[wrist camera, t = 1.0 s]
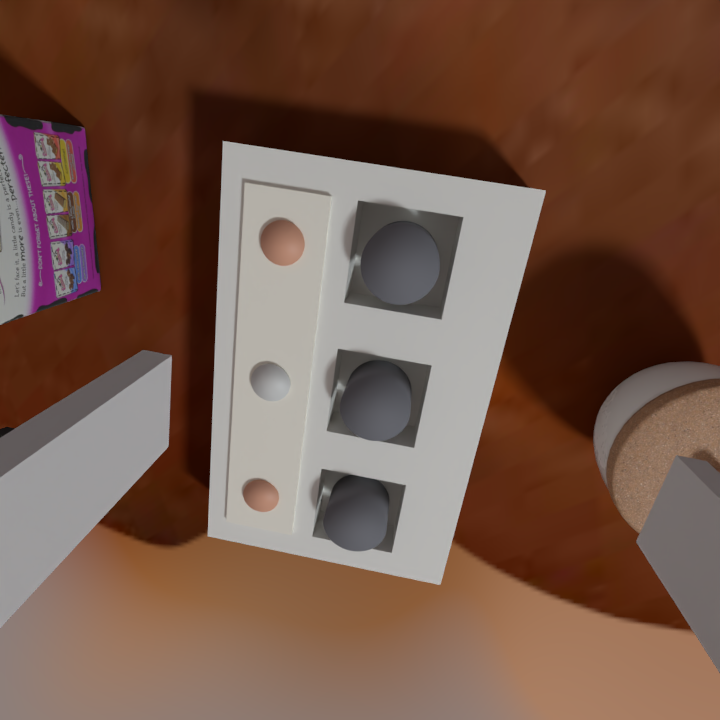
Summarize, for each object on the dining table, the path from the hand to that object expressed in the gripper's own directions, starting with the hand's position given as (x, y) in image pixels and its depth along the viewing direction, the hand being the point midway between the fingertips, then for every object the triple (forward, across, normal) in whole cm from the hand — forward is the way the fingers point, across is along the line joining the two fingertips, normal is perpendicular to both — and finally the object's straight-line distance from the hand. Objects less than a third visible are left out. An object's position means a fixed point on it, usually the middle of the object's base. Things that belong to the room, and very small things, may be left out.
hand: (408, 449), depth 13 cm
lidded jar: (+21, +18, -5) cm, 29 cm away
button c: (+19, 0, -16) cm, 25 cm away
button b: (+19, -1, -7) cm, 20 cm away
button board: (+22, -3, -7) cm, 23 cm away
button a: (+19, -1, +2) cm, 19 cm away
